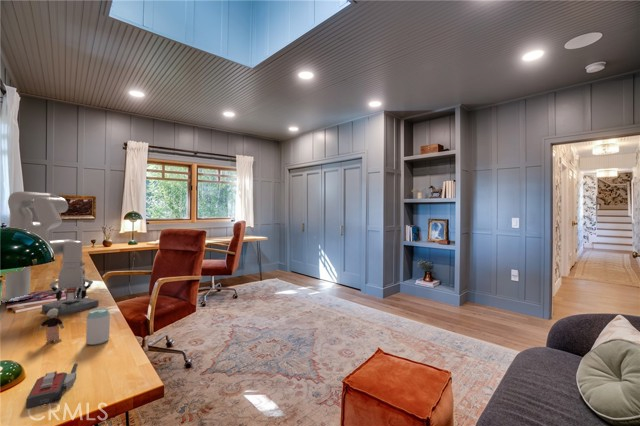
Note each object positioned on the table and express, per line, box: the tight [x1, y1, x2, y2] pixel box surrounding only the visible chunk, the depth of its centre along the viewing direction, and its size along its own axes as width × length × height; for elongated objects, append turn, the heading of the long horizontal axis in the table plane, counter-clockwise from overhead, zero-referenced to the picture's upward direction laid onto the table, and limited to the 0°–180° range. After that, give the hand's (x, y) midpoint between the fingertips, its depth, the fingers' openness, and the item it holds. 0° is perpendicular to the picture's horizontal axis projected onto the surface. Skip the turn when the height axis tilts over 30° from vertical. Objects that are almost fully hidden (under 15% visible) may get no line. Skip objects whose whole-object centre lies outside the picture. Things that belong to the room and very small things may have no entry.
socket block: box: [41, 297, 99, 317], centre depth 147 cm, size 16×16×3 cm
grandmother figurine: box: [38, 309, 65, 345], centre depth 110 cm, size 8×4×13 cm, turn 115°
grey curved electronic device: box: [76, 287, 82, 297], centre depth 163 cm, size 17×5×10 cm, turn 42°
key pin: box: [65, 288, 77, 305], centre depth 147 cm, size 4×4×10 cm
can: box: [85, 307, 111, 346], centre depth 111 cm, size 7×7×12 cm
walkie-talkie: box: [25, 362, 78, 410], centre depth 83 cm, size 9×4×20 cm
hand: (71, 298), depth 147 cm, fingers open, 9 cm apart
